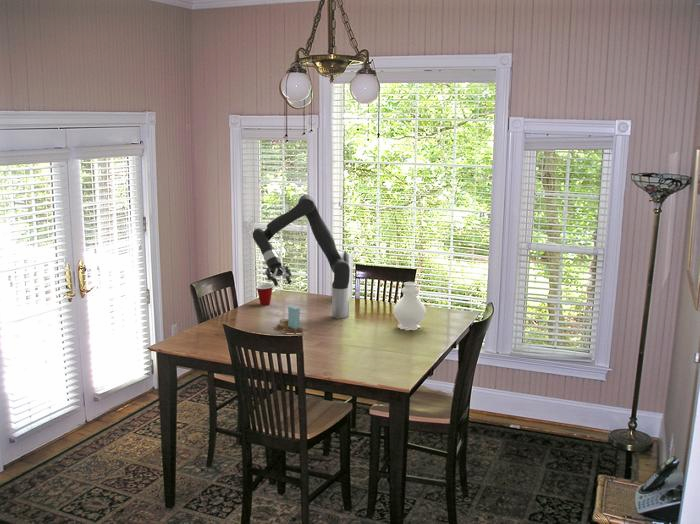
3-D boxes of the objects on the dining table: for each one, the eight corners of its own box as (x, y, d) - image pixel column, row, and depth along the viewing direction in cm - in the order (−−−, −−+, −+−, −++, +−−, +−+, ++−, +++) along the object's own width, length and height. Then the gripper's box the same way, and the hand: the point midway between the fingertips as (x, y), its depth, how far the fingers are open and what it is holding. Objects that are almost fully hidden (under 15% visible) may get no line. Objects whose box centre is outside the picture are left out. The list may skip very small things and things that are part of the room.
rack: (291, 325, 396) (291, 319, 396) (314, 334, 381) (314, 328, 380) (270, 329, 388) (270, 324, 387) (293, 338, 372) (293, 333, 371)
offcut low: (286, 325, 392) (286, 322, 392) (291, 327, 389) (291, 323, 389) (279, 327, 389) (279, 323, 388) (283, 329, 386) (283, 325, 385)
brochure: (347, 301, 450) (348, 254, 444) (339, 300, 451) (340, 254, 445) (352, 296, 464) (353, 250, 458) (344, 295, 465) (345, 250, 459)
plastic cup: (254, 302, 442) (254, 283, 440) (272, 302, 445) (272, 283, 442) (256, 307, 432) (256, 287, 429) (274, 306, 434) (274, 287, 432)
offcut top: (286, 322, 391) (286, 318, 391) (290, 323, 389) (290, 319, 388) (279, 323, 388) (279, 319, 388) (284, 325, 385) (284, 321, 385)
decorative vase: (397, 321, 408) (399, 278, 403) (428, 324, 402) (430, 281, 397) (389, 329, 392) (390, 285, 387) (420, 333, 386) (422, 288, 381)
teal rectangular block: (292, 329, 386) (292, 305, 384) (299, 331, 382) (299, 308, 379) (288, 330, 384) (288, 306, 382) (294, 332, 380) (295, 309, 377)
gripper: (264, 257, 388) (275, 281, 382) (285, 254, 397) (297, 279, 391) (258, 265, 393) (269, 289, 387) (279, 262, 402) (291, 286, 396)
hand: (283, 284), depth 389 cm, fingers open, 8 cm apart
